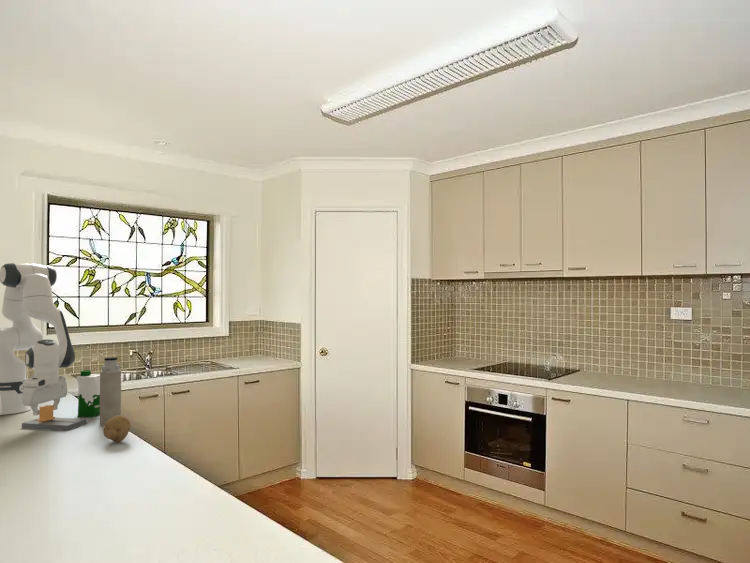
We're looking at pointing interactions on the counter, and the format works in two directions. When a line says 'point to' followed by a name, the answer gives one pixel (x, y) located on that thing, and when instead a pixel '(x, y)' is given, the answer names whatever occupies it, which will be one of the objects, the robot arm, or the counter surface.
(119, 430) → the natural sponge
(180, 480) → the counter surface
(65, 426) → the slider board
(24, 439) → the counter surface
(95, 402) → the milk carton
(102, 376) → the thermos bottle
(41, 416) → the fader knob
